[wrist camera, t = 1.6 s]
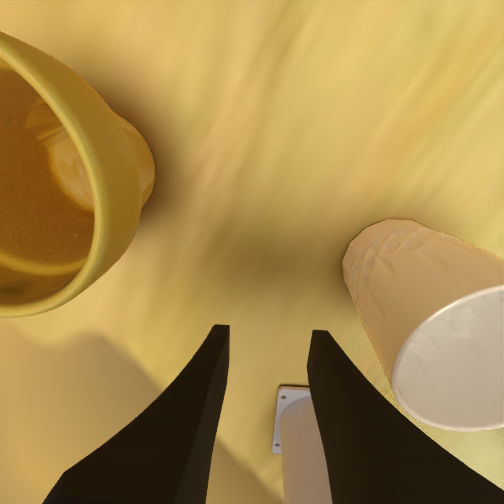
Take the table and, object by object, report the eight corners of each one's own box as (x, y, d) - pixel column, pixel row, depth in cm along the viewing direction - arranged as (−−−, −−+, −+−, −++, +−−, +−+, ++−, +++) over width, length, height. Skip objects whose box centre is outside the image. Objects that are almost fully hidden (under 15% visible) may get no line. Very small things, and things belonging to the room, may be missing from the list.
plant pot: (5, 63, 16) (-328, -30, 7) (182, 79, 16) (79, 9, 7) (44, 230, 20) (-133, 309, 11) (184, 243, 20) (122, 332, 11)
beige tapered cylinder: (432, 190, 18) (610, 248, 9) (452, 285, 21) (603, 405, 12) (318, 236, 20) (369, 327, 10) (351, 319, 22) (414, 449, 13)
